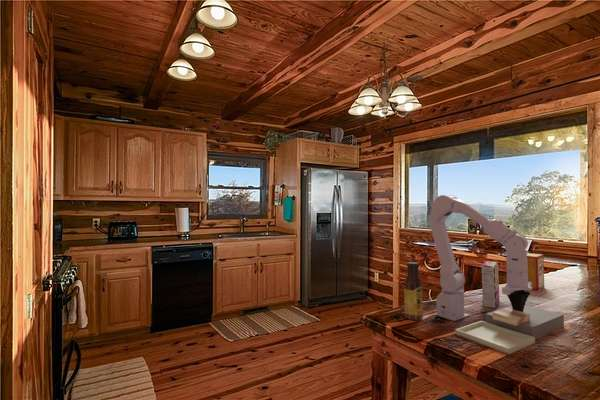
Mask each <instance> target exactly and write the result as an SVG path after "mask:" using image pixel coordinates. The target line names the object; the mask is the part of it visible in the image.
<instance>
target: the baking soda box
mask: <svg viewBox="0 0 600 400" xmlns="http://www.w3.org/2000/svg"><path fill="white" fill-rule="evenodd" d="M544 260H545V259H544V254H541V253H531V252H527V264H528V282H532V289H531V290H530V291H535V292H539V291H541V290H542V289H544V288H545V267H544V266H545V262H544Z"/></svg>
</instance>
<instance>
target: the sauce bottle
mask: <svg viewBox="0 0 600 400" xmlns="http://www.w3.org/2000/svg"><path fill="white" fill-rule="evenodd" d="M406 266H407V276H406V277H405V279H404V290H403V291H404V294H403V295H404V314H405V316H404V317H405V318H406V319H408V320H412V321H420V320H422V319H423V316H424V300H423V299H424V296H423V294H424V292H423V283H422V280H421V277H420V275H419V268H420V264H419V262H417V261H415V262H414V261H410V262H409V261H408V262H407V263H406Z"/></svg>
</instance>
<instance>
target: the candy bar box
mask: <svg viewBox="0 0 600 400" xmlns="http://www.w3.org/2000/svg"><path fill="white" fill-rule="evenodd" d="M480 268H481V269H480V270H481V271H480V272H481V292H482V307H483V306H485V307H484V308H489V307H491V308H490V309H497V307H498V306H499V304H500V281H499V262H498V261H492V260H491V261H490V260H488V261H487V260H486V261H483V263H482V265H480Z"/></svg>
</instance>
